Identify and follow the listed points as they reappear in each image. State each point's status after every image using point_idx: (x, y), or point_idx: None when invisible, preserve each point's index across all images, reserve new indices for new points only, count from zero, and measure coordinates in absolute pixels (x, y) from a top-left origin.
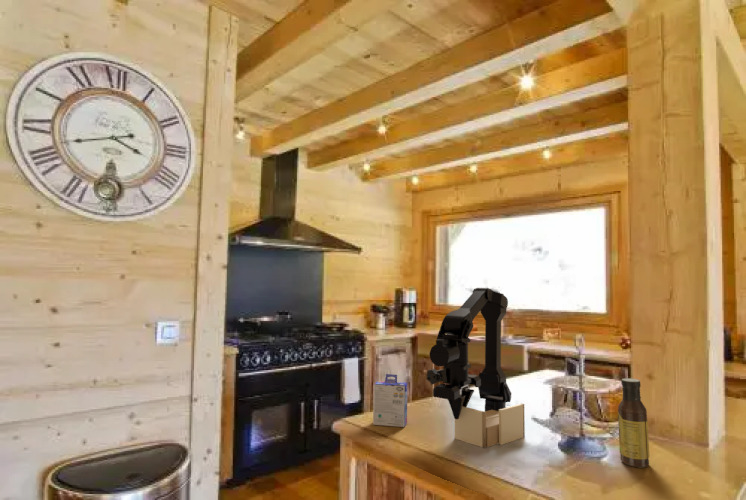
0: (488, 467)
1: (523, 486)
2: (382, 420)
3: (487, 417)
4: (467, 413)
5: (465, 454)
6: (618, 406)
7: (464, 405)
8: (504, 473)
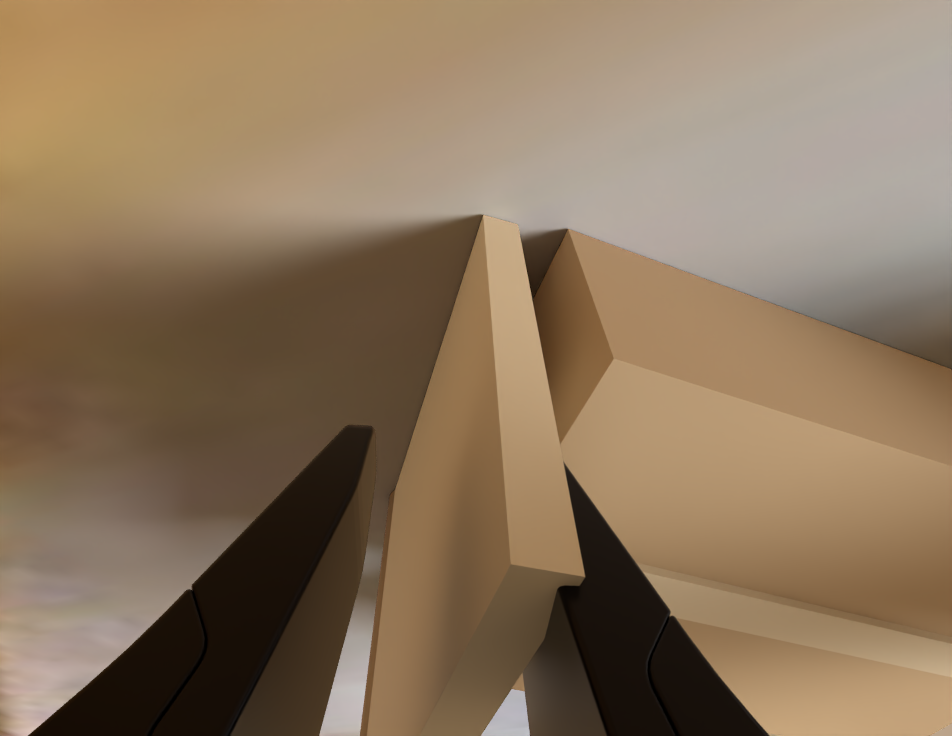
0: (61, 599)
1: (11, 726)
2: None
3: (783, 616)
4: (419, 654)
5: (131, 442)
6: None
7: (535, 713)
8: (67, 661)
